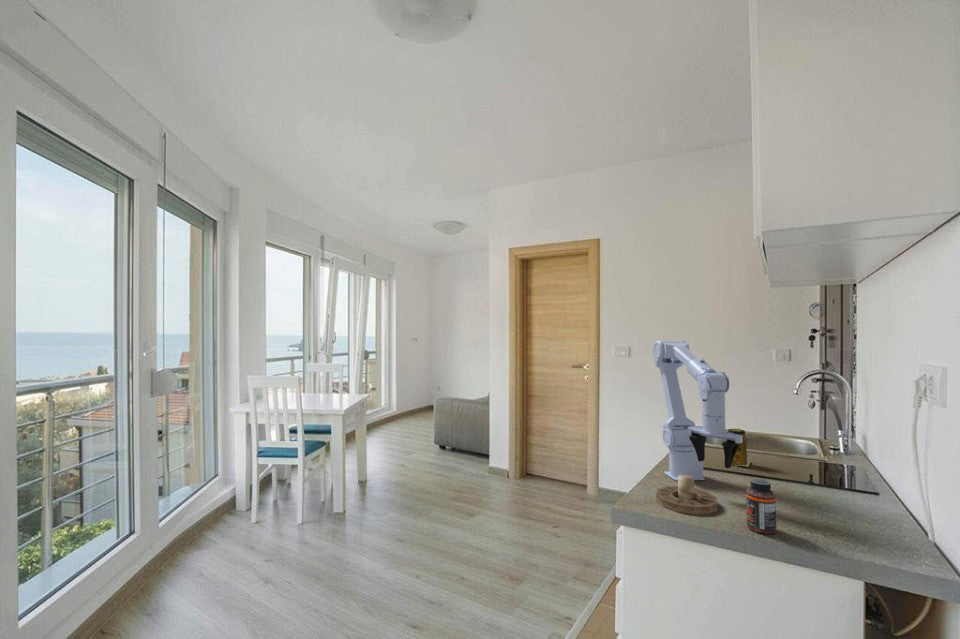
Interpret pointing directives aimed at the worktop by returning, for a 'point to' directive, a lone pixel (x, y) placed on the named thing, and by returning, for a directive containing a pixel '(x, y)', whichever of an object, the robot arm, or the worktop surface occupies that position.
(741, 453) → the condiment
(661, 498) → the walnut ring
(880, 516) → the worktop surface
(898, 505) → the worktop surface
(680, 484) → the beech peg
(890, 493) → the worktop surface
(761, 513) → the supplement bottle
